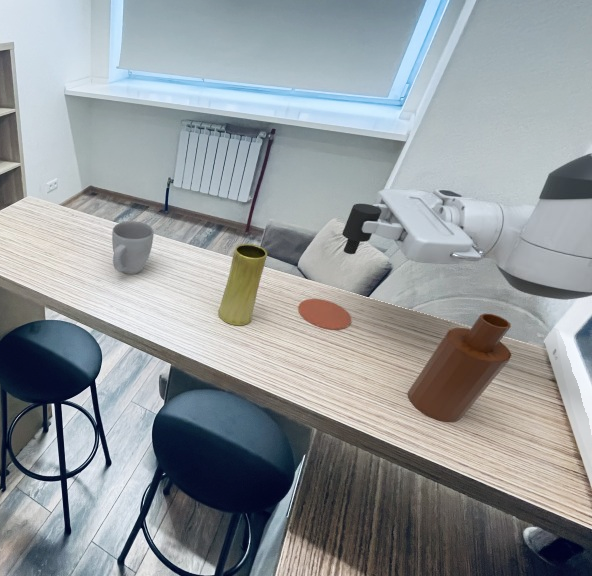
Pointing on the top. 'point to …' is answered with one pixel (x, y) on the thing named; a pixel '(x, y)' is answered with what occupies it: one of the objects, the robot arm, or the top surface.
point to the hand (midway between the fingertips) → (358, 218)
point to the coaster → (324, 314)
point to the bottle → (461, 369)
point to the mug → (131, 246)
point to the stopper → (358, 225)
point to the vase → (242, 284)
